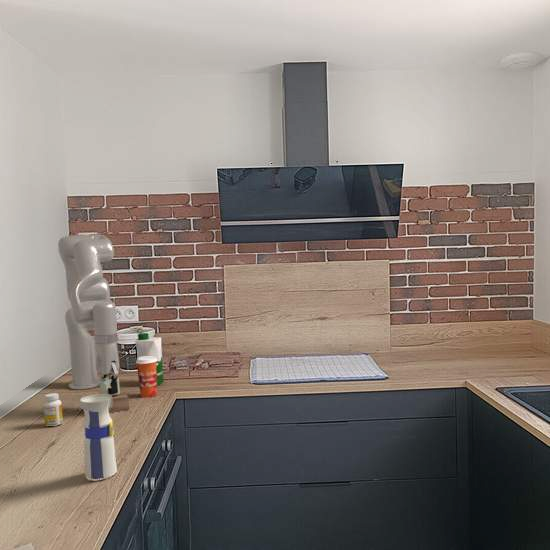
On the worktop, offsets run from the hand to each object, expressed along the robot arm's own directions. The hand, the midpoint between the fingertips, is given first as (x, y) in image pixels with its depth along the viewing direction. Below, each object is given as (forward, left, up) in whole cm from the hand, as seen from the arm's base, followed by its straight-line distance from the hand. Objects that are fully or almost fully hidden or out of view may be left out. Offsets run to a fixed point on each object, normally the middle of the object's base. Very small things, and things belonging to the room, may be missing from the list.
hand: (110, 391), depth 210 cm
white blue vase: (+54, -23, -6) cm, 59 cm away
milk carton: (-22, +25, -6) cm, 34 cm away
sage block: (0, 0, -1) cm, 1 cm away
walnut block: (0, 0, -7) cm, 7 cm away
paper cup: (-7, +17, -6) cm, 19 cm away
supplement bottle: (+3, -20, -6) cm, 21 cm away
